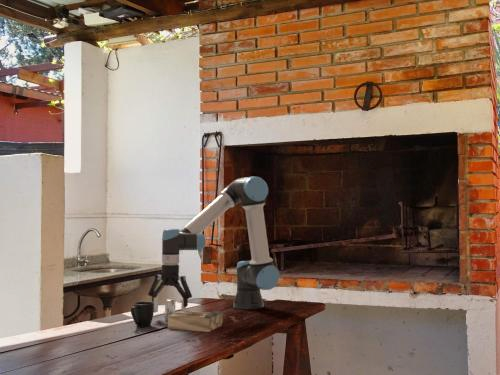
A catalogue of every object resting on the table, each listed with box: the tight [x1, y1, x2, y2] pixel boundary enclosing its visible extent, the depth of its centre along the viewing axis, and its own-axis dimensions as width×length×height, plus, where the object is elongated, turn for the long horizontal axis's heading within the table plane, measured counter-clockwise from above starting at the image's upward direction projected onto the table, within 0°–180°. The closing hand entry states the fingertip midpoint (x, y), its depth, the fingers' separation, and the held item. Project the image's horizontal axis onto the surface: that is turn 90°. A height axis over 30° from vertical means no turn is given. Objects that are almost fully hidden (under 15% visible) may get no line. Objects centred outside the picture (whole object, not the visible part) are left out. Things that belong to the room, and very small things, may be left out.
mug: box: [130, 301, 155, 328], centre depth 229 cm, size 8×12×10 cm
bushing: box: [164, 298, 176, 323], centre depth 242 cm, size 4×4×9 cm
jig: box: [167, 309, 223, 333], centre depth 229 cm, size 14×18×6 cm
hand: (169, 313), depth 242 cm, fingers open, 13 cm apart
